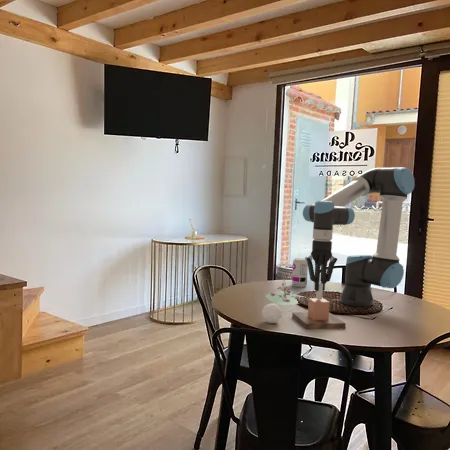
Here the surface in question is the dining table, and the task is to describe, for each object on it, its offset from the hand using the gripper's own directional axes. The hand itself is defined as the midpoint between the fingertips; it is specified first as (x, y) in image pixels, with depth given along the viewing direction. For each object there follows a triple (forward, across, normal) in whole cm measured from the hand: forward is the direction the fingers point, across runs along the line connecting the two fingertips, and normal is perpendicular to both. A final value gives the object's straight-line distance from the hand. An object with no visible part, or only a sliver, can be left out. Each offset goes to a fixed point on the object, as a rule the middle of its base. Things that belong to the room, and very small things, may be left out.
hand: (319, 298), depth 177 cm
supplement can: (+10, +17, +68) cm, 71 cm away
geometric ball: (+10, -19, +1) cm, 21 cm away
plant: (+10, -1, +38) cm, 40 cm away
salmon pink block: (+8, 0, 0) cm, 8 cm away
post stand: (+10, 0, 0) cm, 10 cm away
